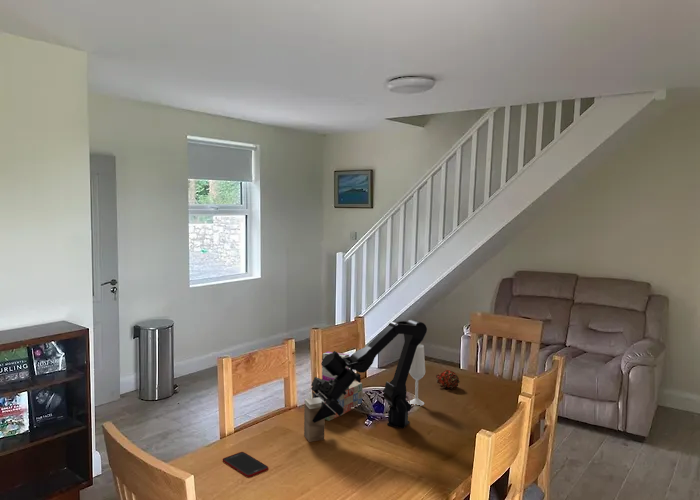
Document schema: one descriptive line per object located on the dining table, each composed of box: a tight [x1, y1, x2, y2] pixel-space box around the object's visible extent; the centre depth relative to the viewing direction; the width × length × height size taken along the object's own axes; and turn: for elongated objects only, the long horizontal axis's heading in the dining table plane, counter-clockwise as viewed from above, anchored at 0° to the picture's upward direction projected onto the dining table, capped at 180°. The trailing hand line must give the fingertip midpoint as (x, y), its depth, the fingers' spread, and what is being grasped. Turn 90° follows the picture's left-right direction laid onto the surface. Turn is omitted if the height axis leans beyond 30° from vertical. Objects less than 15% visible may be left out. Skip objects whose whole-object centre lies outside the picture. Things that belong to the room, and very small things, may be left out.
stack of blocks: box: [324, 380, 364, 422], centre depth 209 cm, size 21×6×12 cm, turn 143°
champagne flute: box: [409, 343, 426, 407], centre depth 219 cm, size 7×7×24 cm
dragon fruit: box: [435, 369, 461, 390], centre depth 240 cm, size 8×8×12 cm
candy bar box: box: [321, 351, 350, 381], centre depth 232 cm, size 11×5×16 cm, turn 62°
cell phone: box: [222, 451, 269, 478], centre depth 164 cm, size 8×15×1 cm, turn 45°
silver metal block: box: [303, 397, 326, 443], centre depth 184 cm, size 6×6×13 cm
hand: (310, 418), depth 184 cm, fingers closed on silver metal block, 5 cm apart
